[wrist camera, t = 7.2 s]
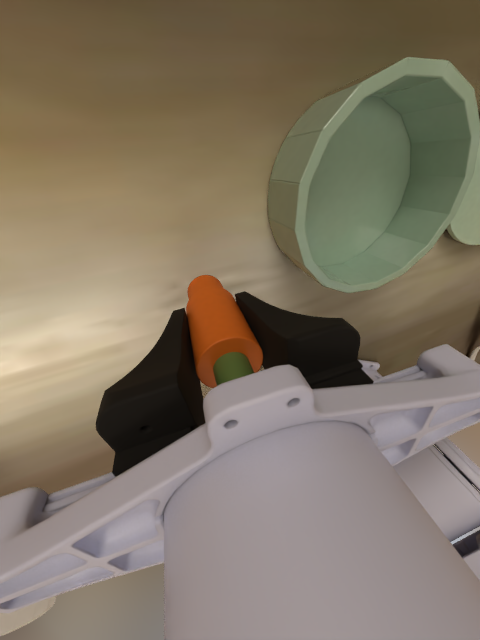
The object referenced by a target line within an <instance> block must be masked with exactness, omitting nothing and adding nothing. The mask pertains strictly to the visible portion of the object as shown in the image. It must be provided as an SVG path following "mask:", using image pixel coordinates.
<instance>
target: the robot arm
mask: <svg viewBox="0 0 480 640" xmlns="http://www.w3.org/2000/svg"><path fill="white" fill-rule="evenodd" d="M235 297H236V302H237V305H238V307H239V308H240V310H241V312H242V314H243V316H244V318H245V319H246V321H247V323H248V325H249V327H250V329H251V331H252V332H253V334H254V336H255V338H256V340H257V342H258V343H259V345H260V347H261V349H262V352H263V363H262V365H263V367H264V369H265V370H262V371H259V372H256V373H253V374H250V375H247V376H243V377H240V378H237V379H234V380H231V381H228V382H225V383H222V384H220V385H218V386H216V387H214V388H213V389H211V390H210V391H209V392H208V394H207V395H206V396H205V397H204V399H203V396H202V391H201V385H200V379H199V378H198V376H197V373H196V368H195V362H194V356H193V350H192V344H191V338H190V331H189V324H188V318H187V314H186V312H185V309H184V308H182V309H179V310H175V311H173V313H172V315H171V317H170V319H169V322H168V324H167V326H166V328H165V330H164V332H163V333H162V335H161V337H160V338H159V340H158V342H157V343H156V345H155V346H154V347H153V349H152V350H151V351H150V352H149V354H148V355H147V356H146V357H145V358H144V359H143V360H142V361H141V362H140V363H139V364H138V365H137V366H136V367H135V368H134V369H133V370H132V371H131V372H129V373H128V374H127V375H126V376H125V377H123V378H122V379H121V380H119V381H118V382H117V383H115V384H114V385H113V386H111V387H110V388H108V389H107V390H105V393H104V395H103V398H102V401H101V404H100V408H99V412H98V416H97V420H96V430H97V431H98V433H99V435H100V436H101V437H102V438H103V439H104V440H105V441H106V442H107V443H108V445H109V446H110V447H111V448H112V449H113V450H114V451H115V458H114V465H113V471H112V472H111V473H108V474H105V475H103V476H100V477H97V478H94V479H91V480H88V481H86V482H83V483H80V484H77V485H74V486H71V487H68V488H66V489H63V490H60V491H57V492H54V493H51V494H49V495H48V494H47V493H46V492H45V491H44V490H43V489H41V488H38V487H29V488H25V489H22V490H19V491H16V492H13V493H10V494H7V495H4V496H1V497H0V613H12V612H14V611H16V610H19V609H22V608H24V607H27V606H29V605H32V604H35V603H37V602H40V601H42V600H45V599H48V598H51V597H54V596H57V595H59V594H62V593H65V592H68V591H71V590H74V589H78V588H81V587H84V586H87V585H90V584H94V583H97V582H100V581H104V580H107V579H110V578H114V577H117V576H120V575H124V574H127V573H130V572H134V571H137V570H140V569H144V568H147V567H151V566H154V565H158V564H161V563H164V634H165V640H480V530H479V531H477V532H475V533H473V534H471V535H469V536H468V537H466V538H464V539H462V540H461V541H458V542H457V543H455V544H453V545H452V544H451V543H450V542H451V541H453V540H455V539H457V538H459V537H460V536H462V535H464V534H466V533H467V532H469V531H472V530H473V529H475V528H477V527H479V526H480V493H479V492H478V490H479V491H480V468H479V467H478V466H477V465H476V464H475V463H474V462H473V461H472V460H471V459H470V458H468V456H467V455H465V454H464V453H463V452H462V451H461V450H460V449H459V448H458V447H457V446H456V445H455V444H454V443H453V442H452V441H450V440H449V439H448V438H447V437H448V436H450V435H452V434H454V433H456V432H458V431H460V430H462V429H465V428H467V427H469V426H472V425H474V424H476V423H479V422H480V365H479V364H478V363H476V362H475V361H473V360H471V359H470V358H468V357H467V356H465V355H463V354H462V353H460V352H459V351H457V350H456V349H454V348H452V347H451V346H449V345H448V344H444V345H441V346H438V347H435V348H432V349H429V350H426V351H424V352H423V353H422V354H421V355H420V356H419V358H418V361H417V365H416V366H413V367H410V368H407V369H404V370H401V371H399V372H396V373H393V374H390V375H387V376H384V377H382V376H381V375H380V374H379V373H378V372H377V369H378V368H379V367H380V364H379V363H377V362H371V361H364V360H357V357H358V351H359V346H360V335H359V333H358V331H357V330H356V329H355V328H353V327H352V326H351V325H350V324H349V323H348V322H346V321H345V320H344V319H342V318H322V317H313V316H306V315H301V314H296V313H292V312H289V311H286V310H282V309H280V308H277V307H275V306H272V305H270V304H268V303H266V302H264V301H262V300H260V299H258V298H256V297H254V296H252V295H251V294H249V293H247V292H241V293H237V294H235ZM433 444H434V445H435V446H437V448H438V449H439V450H440V451H441V452H442V453H443V454H444V455H443V454H442V453H441V452H440V451H439V450H438V449H437V448H436V447H435V446H434V445H433ZM472 484H473V485H474V486H475V487H476V488H477V489H478V490H477V489H476V488H475V487H474V486H473V485H472Z"/></svg>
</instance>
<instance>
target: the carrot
mask: <svg viewBox="0 0 480 640" xmlns="http://www.w3.org/2000/svg"><path fill="white" fill-rule="evenodd" d="M188 297H189V301H188V303H187V307H186V314H187V318H188V324H189V331H190V338H191V344H192V350H193V356H194V362H195V368H196V373H197V376H198V378H199V379H200V381H201V382H202V383H203V384H205V385H206V386H208V387H211V388H214V387H216V386H218V385H220V384H222V383H225V382H228V381H231V380H234V379H237V378H240V377H243V376H247V375H250V374H253V373H256V372H258V371H259V370H260V368H261V366H262V363H263V352H262V349H261V347H260V345H259V343H258V342H257V340H256V338H255V336H254V334H253V332H252V331H251V329H250V327H249V325H248V323H247V321H246V319H245V318H244V316H243V314H242V312H241V310H240V308H239V307H238V305H237V303H236V301H235V299H234V297H233V296H232V295H231V293H230V292H228V291H227V290H225V289H224V288H223V286H222V284H221V283H220V281H219V280H218V279H217V278H215V277H213V276H210V275H202V276H199V277H197V278H195V279H194V280H193V281H192V282H191V283H190V285H189V287H188Z"/></svg>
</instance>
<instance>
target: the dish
mask: <svg viewBox="0 0 480 640" xmlns="http://www.w3.org/2000/svg"><path fill="white" fill-rule="evenodd" d="M55 600H56V596H54V597H51V598H48V599H45V600H42V601H40V602H37V603H35V604H32V605H29V606H27V607H24V608H22V609H19V610H16V611H14V612H12V613H0V636H2V635H5V634H7V633H10V632H12V631H14V630H16V629H18V628H20V627H22V626H24V625H26V624H28V623H31V622H32V621H34V620H35V619H37V618H39V617H40V616H41V615H43V614H45V613H46V612H47V611H48V610H49V609H50V608H51V607H52V606H53V605H54V603H55Z"/></svg>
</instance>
